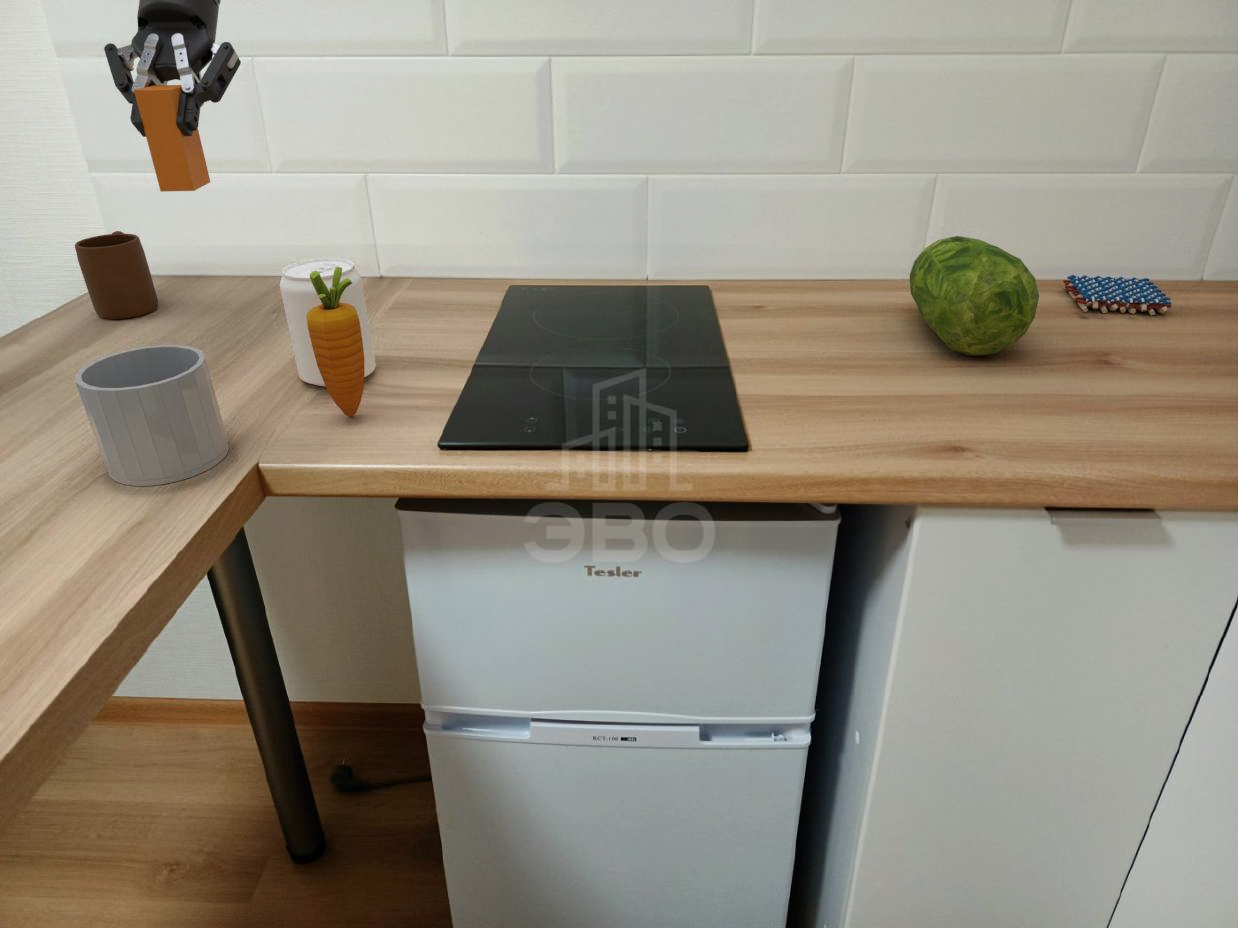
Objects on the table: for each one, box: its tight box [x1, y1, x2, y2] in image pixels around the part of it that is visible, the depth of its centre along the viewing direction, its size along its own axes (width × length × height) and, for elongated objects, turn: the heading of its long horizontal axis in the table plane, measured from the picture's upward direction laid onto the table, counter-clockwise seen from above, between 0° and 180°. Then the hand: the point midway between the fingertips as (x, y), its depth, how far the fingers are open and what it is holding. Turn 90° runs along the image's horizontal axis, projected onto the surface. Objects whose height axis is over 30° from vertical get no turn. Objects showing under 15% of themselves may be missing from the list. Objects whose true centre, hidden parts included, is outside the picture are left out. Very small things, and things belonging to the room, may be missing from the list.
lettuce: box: [909, 235, 1040, 357], centre depth 99 cm, size 12×21×11 cm, turn 2°
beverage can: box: [279, 257, 377, 388], centre depth 91 cm, size 8×8×12 cm
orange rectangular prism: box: [134, 84, 211, 193], centre depth 91 cm, size 4×5×10 cm
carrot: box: [307, 267, 365, 418], centre depth 81 cm, size 5×5×15 cm
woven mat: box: [1062, 274, 1172, 316], centre depth 111 cm, size 10×11×2 cm
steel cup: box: [74, 344, 230, 487], centre depth 76 cm, size 10×10×9 cm
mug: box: [74, 230, 159, 320], centre depth 113 cm, size 12×8×9 cm, turn 17°
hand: (163, 131), depth 89 cm, fingers closed on orange rectangular prism, 3 cm apart
